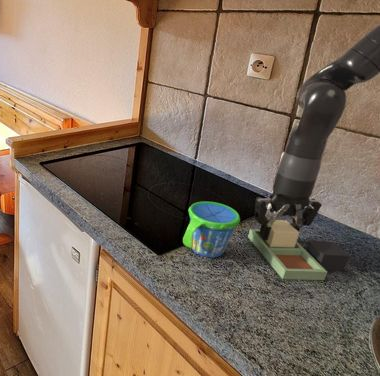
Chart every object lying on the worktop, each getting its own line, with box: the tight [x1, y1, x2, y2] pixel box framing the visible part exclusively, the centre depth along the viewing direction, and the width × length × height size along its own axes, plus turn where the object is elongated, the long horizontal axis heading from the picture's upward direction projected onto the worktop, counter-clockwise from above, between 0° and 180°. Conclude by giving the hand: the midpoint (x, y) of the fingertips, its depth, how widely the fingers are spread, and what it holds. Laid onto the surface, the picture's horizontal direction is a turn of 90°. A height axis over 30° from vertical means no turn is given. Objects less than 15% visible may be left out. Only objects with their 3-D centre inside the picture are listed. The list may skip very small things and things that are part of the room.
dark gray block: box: [305, 240, 350, 272], centre depth 90 cm, size 6×6×4 cm
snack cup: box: [182, 201, 241, 259], centre depth 93 cm, size 16×10×10 cm
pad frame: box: [247, 228, 328, 281], centre depth 92 cm, size 9×17×2 cm, turn 179°
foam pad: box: [265, 219, 300, 247], centre depth 95 cm, size 6×6×4 cm
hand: (277, 238), depth 95 cm, fingers closed on foam pad, 5 cm apart
